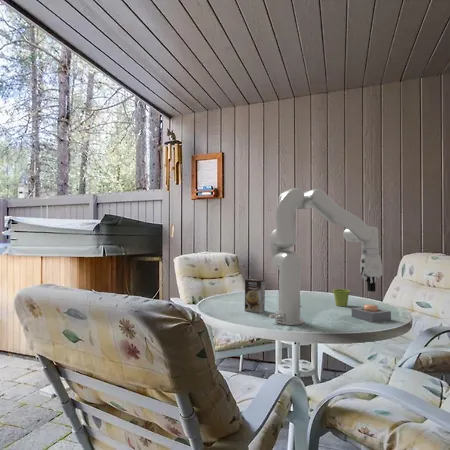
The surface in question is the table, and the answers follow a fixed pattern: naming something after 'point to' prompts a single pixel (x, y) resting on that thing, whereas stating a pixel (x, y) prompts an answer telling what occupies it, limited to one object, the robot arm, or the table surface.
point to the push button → (370, 307)
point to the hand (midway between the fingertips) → (371, 291)
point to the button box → (371, 315)
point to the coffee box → (255, 295)
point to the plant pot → (341, 297)
